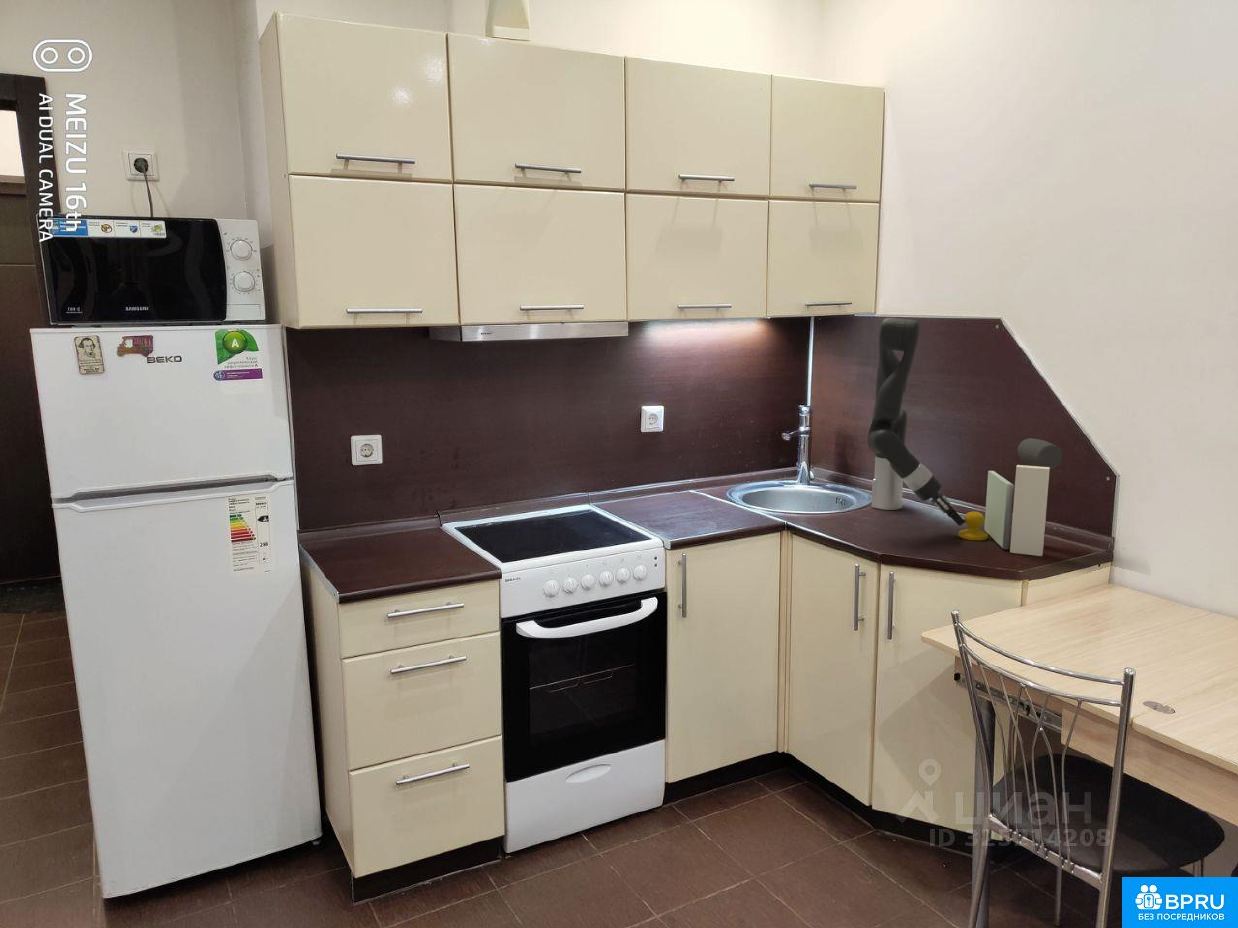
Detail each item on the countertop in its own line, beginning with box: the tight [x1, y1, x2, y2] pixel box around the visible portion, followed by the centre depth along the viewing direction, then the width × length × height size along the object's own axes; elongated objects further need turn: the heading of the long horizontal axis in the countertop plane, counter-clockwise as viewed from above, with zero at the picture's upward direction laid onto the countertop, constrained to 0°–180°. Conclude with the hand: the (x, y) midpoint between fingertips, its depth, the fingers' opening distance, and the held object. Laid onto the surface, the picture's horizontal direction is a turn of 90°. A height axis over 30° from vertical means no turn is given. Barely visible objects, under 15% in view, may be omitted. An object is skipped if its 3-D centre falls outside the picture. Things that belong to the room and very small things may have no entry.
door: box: [983, 470, 1015, 550], centre depth 252 cm, size 21×2×18 cm, turn 172°
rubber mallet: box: [1017, 437, 1063, 470], centre depth 248 cm, size 12×8×30 cm, turn 3°
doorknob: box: [958, 511, 989, 541], centre depth 258 cm, size 8×8×8 cm
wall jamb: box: [1009, 464, 1051, 557], centre depth 240 cm, size 8×3×24 cm, turn 62°
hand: (962, 523), depth 259 cm, fingers closed
